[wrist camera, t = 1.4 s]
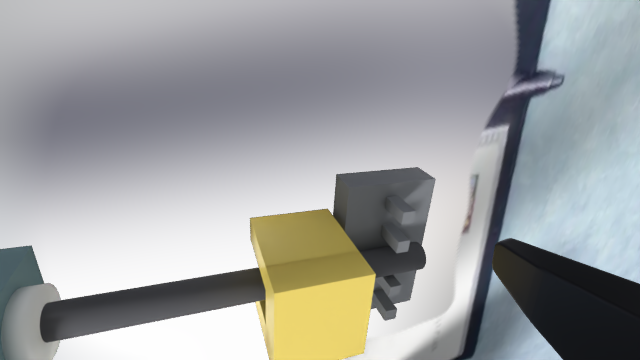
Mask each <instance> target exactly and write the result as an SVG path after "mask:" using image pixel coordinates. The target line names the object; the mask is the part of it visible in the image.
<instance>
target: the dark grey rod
mask: <svg viewBox="0 0 640 360" xmlns="http://www.w3.org/2000/svg"><path fill="white" fill-rule="evenodd" d="M359 252H360V253H361V255H362V256H363V257H364V259H365V260H366V261H367V263H368V264H369V265H370V267H371V268H372V270H373V271H374V272H375V274H376V276H375V278H378V277H383V276H388V275H394V274H399V273H404V272H409V271H414V270H418V269H423V267H424V266H425V264H426V255H425V252H424V249H423V247H422V246H421V245H420V244H419V243H418V242H410V244H409V249H408V251H407V252H402V253H396V252H395V251H394V250H393V249H392V248H391V247H390V246H386V247H379V248H373V249H367V250H361V251H359ZM261 300H266V290H265V286H264V283H263V279H262V276H261V273H260V269H259V268H253V269H248V270H241V271H235V272H229V273H223V274H217V275H211V276H206V277H199V278H193V279H187V280H181V281H175V282H169V283H163V284H157V285H151V286H145V287H139V288H133V289H127V290H120V291H115V292H109V293H102V294H96V295H91V296H84V297H78V298H72V299H66V300H61V299H60V296H59V293H58V291H57V289H56V288H55V286H54V285H52V284H50V283H46V284H44V282H43V279H42V276H41V273H40V270H39V267H38V264H37V261H36V258H35V255H34V252H33V249H32V246H24V247H16V248H7V249H0V360H52V359H53V357H54V356H55V354H56V352H57V349H58V347H59V343H60V340H63V339H68V338H73V337H78V336H84V335H89V334H94V333H99V332H104V331H109V330H113V329H119V328H124V327H129V326H134V325H139V324H144V323H150V322H155V321H160V320H165V319H170V318H175V317H180V316H184V315H190V314H195V313H200V312H206V311H211V310H216V309H221V308H226V307H231V306H236V305H241V304H246V303H251V302H256V301H261Z"/></svg>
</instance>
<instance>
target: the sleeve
mask: <svg viewBox="0 0 640 360" xmlns="http://www.w3.org/2000/svg"><path fill="white" fill-rule="evenodd" d="M250 229H251V230H250V231H251V232H250V233H251V242H252V245H253V249H254V252H255V256H256V259H257V262H258V266H259V269H260V273H261V276H262V279H263V283H264V286H265V290H266V300H261V301H256V302H255V303H256V306H257V310H258V315H259V319H260V323H261V327H262V331H263V335H264V339H265V343H266V347H267V351H268V356H269V360H340V359H344V358H348V357H352V356H355V355H359V354H363V353H364V349H365V342H366V336H367V329H368V322H369V316H370V309H371V303H372V296H373V290H374V283H375V276H376V274H375V272H374V271H373V270H372V268H371V267H370V265H369V264H368V263H367V261H366V260H365V259H364V257H363V256H362V255H361V253H360V252H359V251H358V249H357V248H356V246H355V245H354V244H353V242H352V241H351V240H350V238H349V237H348V236H347V234H346V233H345V231H344V230H343V229H342V227H341V226H340V225H339V223H338V222H337V221H336V219H335V218H334V216H333V215H332V214H331V212H330V211H329V210H328V209H322V210H313V211H305V212H296V213H288V214H280V215H272V216H263V217H256V218H250Z"/></svg>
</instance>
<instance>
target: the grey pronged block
mask: <svg viewBox="0 0 640 360" xmlns="http://www.w3.org/2000/svg"><path fill="white" fill-rule="evenodd" d="M434 184H435V178H433V177H431V176H430V175H429V174H427V173H425V172H424V171H422V170H421V169H420V168H418V167H416V168H405V169H393V170H381V171H370V172H359V173H346V174H337V175H336V187H335V200H334V212H333V216H334V218H335V219H336V221H337V222H338V223H339V225H340V226H341V227H342V229H343V230H344V231H345V233H346V234H347V236H348V237H349V238H350V240H351V241H352V242H353V244H354V245H355V246H356V248H357V249H358V251H361V250H367V249H373V248H379V247H386V246H390V247H391V248H392V249H393V250H394V251H395V252H396V253H402V252H407V251H408V249H409V244H410V242H418V243H419V244H420V245H422V241H423V236H424V231H425V226H426V222H427V216H428V212H429V208H430V203H431V198H432V193H433V188H434ZM415 274H416V270H414V271H409V272H404V273H399V274H394V275H388V276H383V277H378V278H375V283H374V290H373V296H372V303H371V309H373V308H377V310H378V311H379V313H380V314H381V316H382V317H383V319H384V320H389V319H394V318H395V317H396V311H397V308H396V307H395V306H394V304H395V303H400V302H404V301H408V300H410V298H411V293H412V288H413V284H414V279H415Z"/></svg>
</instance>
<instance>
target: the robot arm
mask: <svg viewBox="0 0 640 360" xmlns="http://www.w3.org/2000/svg"><path fill="white" fill-rule="evenodd" d="M492 267H493V270H494V272H495V273H496V275H497V276H498V278H499V279H500V280H501V282H502V283H503V285H504V286H505V287H506V289H507V290H508V292H509V293H510V294H511V296H512V297H513V299H514V300H515V301H516V303H517V304H518V305H519V307H520V308H521V310H522V311H523V312H524V314H525V315H526V316H527V318H528V319H529V320H530V322H531V323H532V324H533V325H534V326H535V328H536V329H537V330H538V331H539V332H540V333H541V335H542V336H543V337H544V338H545V339H546V340H547V342H548V343H549V344H550V345H551V346H552V347H553V348H554V350H555V351H556V352H557V353H558V354H559V355H560V357H561V358H562V359H563V360H640V284H639V283H636V282H633V281H630V280H628V279H625V278H622V277H619V276H616V275H614V274H611V273H608V272H605V271H602V270H600V269H597V268H594V267H591V266H588V265H586V264H583V263H580V262H577V261H574V260H572V259H569V258H566V257H563V256H560V255H558V254H555V253H552V252H549V251H546V250H544V249H541V248H538V247H535V246H532V245H530V244H527V243H524V242H521V241H519V240H516V239H512V238H509V239H505V240H502V241H500V242H497V244H496V245H495V250H494V255H493V261H492Z"/></svg>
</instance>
